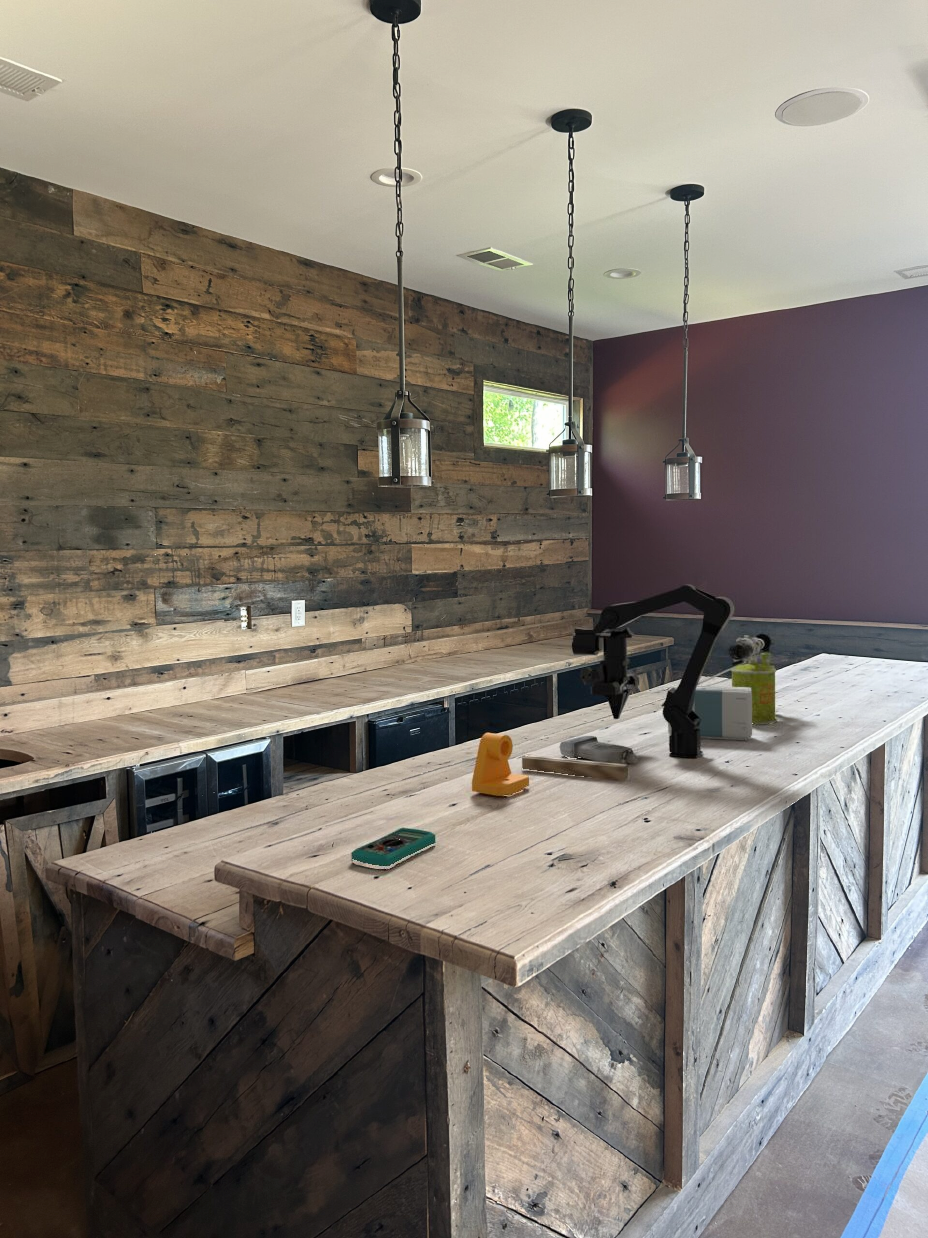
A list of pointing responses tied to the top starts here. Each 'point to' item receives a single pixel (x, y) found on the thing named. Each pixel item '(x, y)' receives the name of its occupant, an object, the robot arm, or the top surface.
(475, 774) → the bracket
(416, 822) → the top surface
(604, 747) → the handheld device
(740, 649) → the blowtorch
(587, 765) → the beam
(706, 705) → the stereo radio cassette player
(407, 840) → the digital multimeter
